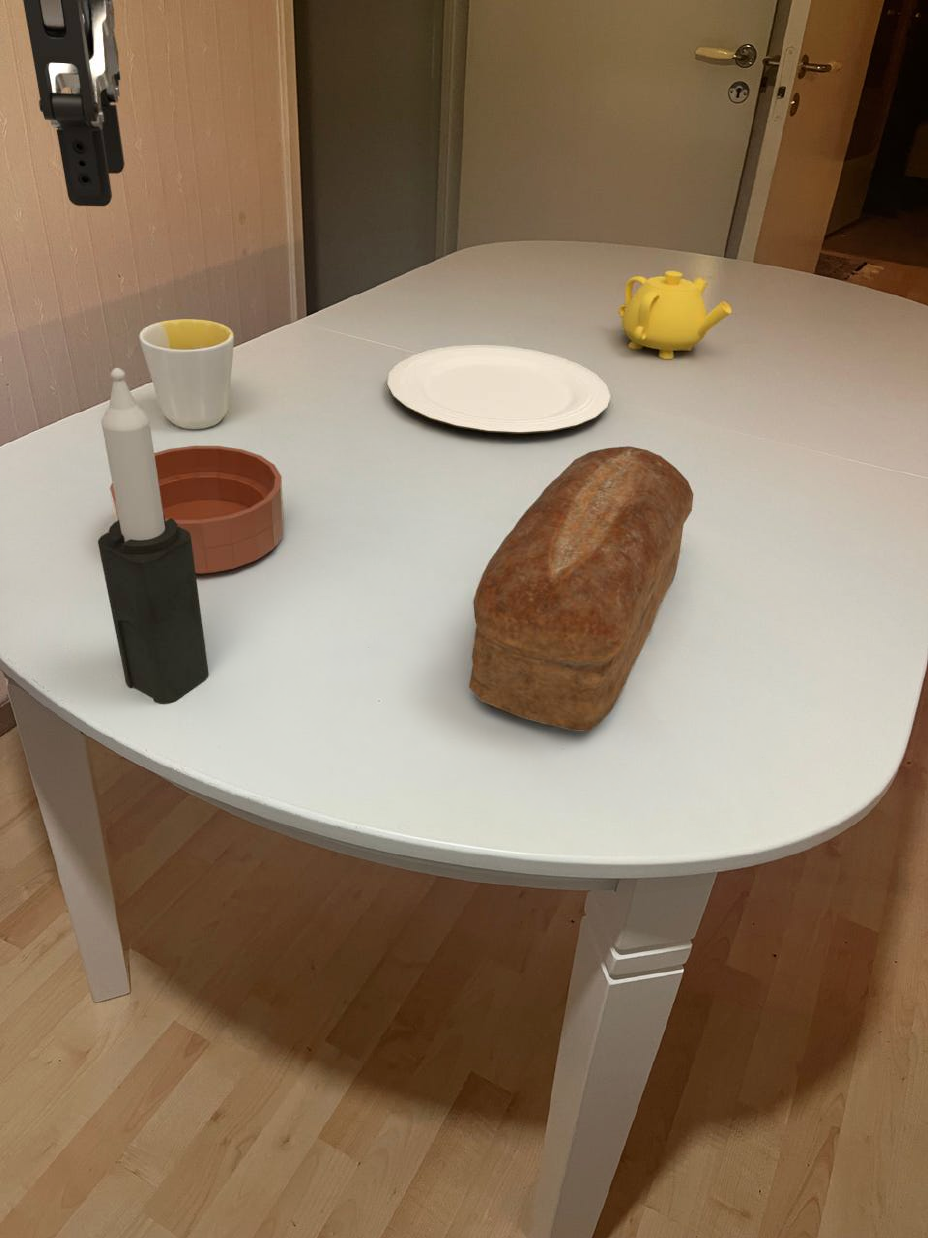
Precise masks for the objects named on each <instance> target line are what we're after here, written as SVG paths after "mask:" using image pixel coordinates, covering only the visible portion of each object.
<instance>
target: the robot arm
mask: <svg viewBox="0 0 928 1238" xmlns="http://www.w3.org/2000/svg"><path fill="white" fill-rule="evenodd" d="M22 2H23V7H24V14H25V19H26V24H27V31H28V36H29V43H30V49H31V54H32V60H33V66H34V71H35V77H36V83H37V88H38V95H39V100H38V105H39V111H40V112H41V113H42V115H43V119H44V120H46V121H50V124H51V127H52V128H53V129H56V135H57V141H58V147H59V153H60V159H61V164H62V170H63V176H64V180H65V181H64V182H65V187H66V192H67V197H68V200H69V202H71V203H72V205H74V206H77V207H107V206H108V205H109V204H110V203H111V201H112V198H113V194H112V193H113V192H112V184H111V178H110V174H111V175H113V174H120V173H122V172H123V170H124V167H125V158H124V151H123V143H122V137H121V130H120V122H119V116H118V108H117V107H118V106H117V104H118V103H119V97H120V95H121V94H120V81H121V72H120V63H119V50H118V45H117V40H116V34H115V28H116V27H115V26H116V25H115V23H116V22H115V7H114V3H113V0H22ZM66 88H70V92H68V93H67V92H62V90H63V89H66Z"/></svg>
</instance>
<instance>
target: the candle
mask: <svg viewBox="0 0 928 1238" xmlns="http://www.w3.org/2000/svg"><path fill="white" fill-rule="evenodd" d="M110 377H111V379H112V387H111V391H110V392H111V394H110V398H109V399H110V400H109V405H108V407H107V409H106V411H105V412H104V415H103V417H102V419H101V427H102V433H103V438H104V445H105V450H106V455H107V461H108V467H109V472H110V477H111V481H112V482H111V484H112V483H113V489H114V494H115V500H116V505H117V511H118V516H119V520H118V521H116V520H115V522H113V523H112V525H111V526H109V529H108V531H107V532H106V533H104V534H103V535H101V536H100V537H99V538H98V540H97V545H98V551H99V556H100V561H101V567H102V570H103V575H104V580H105V585H106V590H107V595H108V600H109V606H110V610H111V615H112V620H113V626H114V631H115V637H116V640H117V646H118V650H119V656H120V660H121V666H122V671H123V675H124V681H125V684H126V686H127V687H129V688H130V689H133V688H134V689H136V690H137V691H139V692H141V693H143V694H144V695H146V696H149V697H150V698H152V699H153V701H154V702H155V703H158V704H170V703H174V702H176V701H177V700H179V699H180V698H182V697H183V696H185V695H186V694H188V693H189V692H190V691H193V689H195V688H196V687H197V686H199V685H200V684H202V683H203V682H205V681H206V680H207V679H208V677H209V666H208V660H207V657H208V656H207V651H206V642H205V635H204V628H203V619H202V611H201V605H200V596H199V595H200V594H199V589H198V581H197V574H196V572H195V564H194V557H193V549H192V541H191V535H190V533H189V532H188V531H187V530H185V529H182V528H180V527H178V526H177V523H176V522H175V521H174V520H173V519H172V518H171V519H169V520H167V521H165V515H163V510H162V503H161V496H160V490H159V483H158V476H157V469H156V463H155V456H154V453H155V449H154V443H153V437H152V430H151V422H150V418H149V416H148V414H147V413H146V412H145V411H144V410H143V409H142V408H141V407H140V406H139V405H138V403H136V400H135V398H134V397H133V394H132V392H131V391H130V388H129V386H128V384H127V382H126V380H125V378H126V373H125V371H124V370H123V369H122V368H120V367H114V368H113V369H112V370H111V372H110Z"/></svg>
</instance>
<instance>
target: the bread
mask: <svg viewBox="0 0 928 1238" xmlns="http://www.w3.org/2000/svg"><path fill="white" fill-rule="evenodd" d="M693 502H694V492H693V489H692V487H691V485H690V482H689V480H688V479H687V478H686V477H685V476H684V475H683V474H682V473H681V472H680V471H679V469H678V468H677V467H676V466H674V465H673V464H672V463H670V462H669V461H668V460H667V459H665V458H664V457H663V456H662V455H659V454H656V453H654V452H652V451H650V450H648V449H644V448H639V447H634V446H629V445H627V446H616V447H606V448H602V449H597V450H592V451H589V452H587V453H585V454H583V455H581V456H579V457H577V458H575V459H574V460H573V461H572V462H571V463H570V464H569V465H568V466H567V467H566V468H565V469H564V470H563V471H562V472H561V473H560V475H558V476H557V477H555V478H554V479H553V480H552V481H551V482H550V483H549V484H548V485H547V486H546V487H545V488H544V490H543V491H542V493H540V495H539V496H538V497H537V498H536V500H535V501H534V502H532V504H531V505H530V506H529V507H528V508H527V509H526V510H525V512H524V513H523V514H522V515H521V517H520V518H519V520H518V521H517V522H516V523H515V526H514V527H513V528H512V529H511V530H510V531H509V533H508V534H507V535H506V536H505V537H504V539H503V541H502V542H501V543H500V545H499V546H498V548H497V550H496V551H495V552H494V554H493V555H492V557H491V558H490V560H489V561H488V562H487V565H486V567H485V569H484V570H483V573H482V575H481V578H480V580H479V582H478V585H477V588H476V590H475V594H474V598H473V601H472V604H473V614H474V616H473V617H474V621H475V630H474V631H475V632H474V638H473V645H472V651H471V661H472V666H471V672H470V677H469V684H468V688H469V689H470V690H471V691H472V692H473V694H474V695H475V696H476V697H477V698H478V700H479V701H481V702H483V703H485V704H487V705H490V706H493V707H495V708H497V709H500V710H502V711H506V712H507V713H510V714H513V715H515V716H517V717H520V718H522V719H525V720H530V721H532V722H537V723H539V724H544V725H547V726H550V727H555V728H560V729H565V730H569V731H578V732H589V731H591V730H593V729H594V728H595V727H597V725H599V724H600V723H602V722H603V721H604V719H605V718H606V717H607V716H608V715H609V714H610V713H611V712H612V710H613V708H614V707H615V705H616V703H617V702H618V700H619V699H620V696H621V694H622V692H623V690H624V688H625V685H626V683H627V681H628V678H629V676H630V673H631V671H632V669H633V667H634V665H635V663H636V661H637V659H638V657H639V655H640V653H641V651H642V649H643V647H644V645H645V642H646V640H647V638H648V636H649V634H650V633H651V631H652V628H653V625H654V623H655V619H656V617H657V615H658V612H659V609H660V606H661V605H662V603H663V600H664V598H665V596H666V594H667V592H668V590H669V589H670V587H671V585H672V584H673V582H674V579H675V577H676V573H677V568H678V563H679V558H680V553H681V547H682V546H681V545H682V539H683V533H684V532H683V530H684V525H685V523H686V521H687V519H688V518H689V516H690V515H691V513H692V511H693V504H694V503H693Z"/></svg>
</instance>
